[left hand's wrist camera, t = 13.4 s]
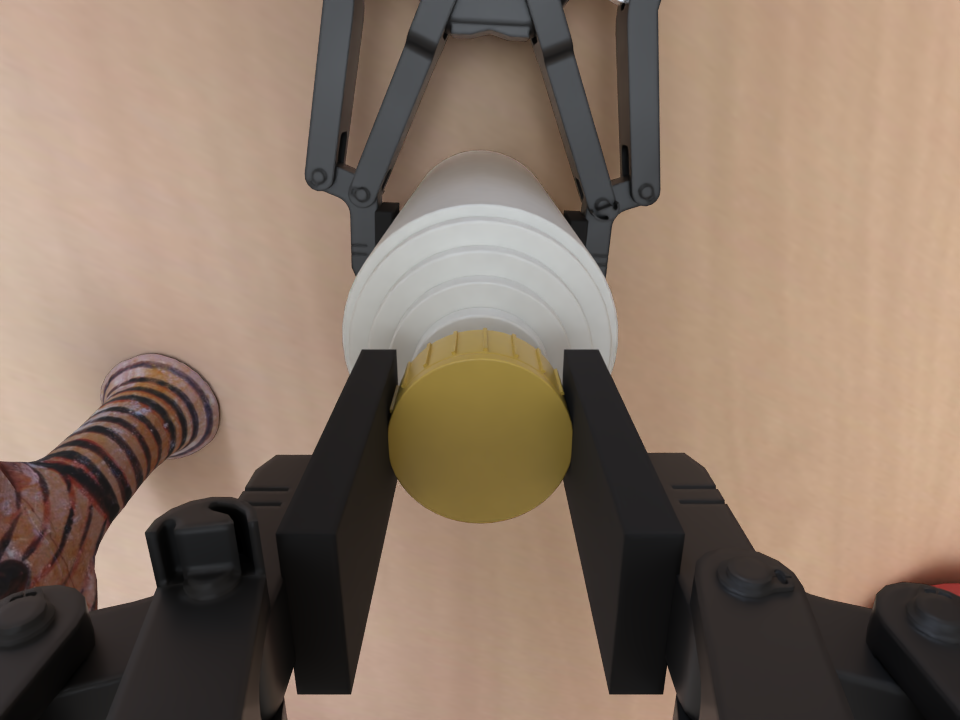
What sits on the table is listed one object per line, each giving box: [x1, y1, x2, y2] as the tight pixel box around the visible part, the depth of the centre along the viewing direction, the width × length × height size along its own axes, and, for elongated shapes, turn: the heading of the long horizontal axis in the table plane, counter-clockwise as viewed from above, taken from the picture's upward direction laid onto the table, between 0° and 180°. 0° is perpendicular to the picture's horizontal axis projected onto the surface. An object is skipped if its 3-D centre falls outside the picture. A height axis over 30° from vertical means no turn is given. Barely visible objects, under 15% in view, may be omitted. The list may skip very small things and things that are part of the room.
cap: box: [388, 328, 573, 523], centre depth 14 cm, size 4×4×2 cm
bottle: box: [342, 150, 618, 386], centre depth 25 cm, size 8×8×24 cm
